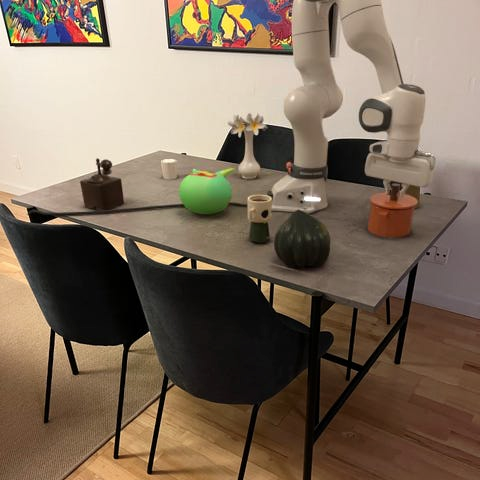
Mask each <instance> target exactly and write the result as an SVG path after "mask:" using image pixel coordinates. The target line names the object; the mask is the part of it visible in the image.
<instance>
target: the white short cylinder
mask: <svg viewBox="0 0 480 480" xmlns="http://www.w3.org/2000/svg"><path fill="white" fill-rule="evenodd" d="M160 165H161V172H162V176H163V179H164V180H169V181H170V180H175V179H177V178H178V160H177V159H176V158H165V159H161V160H160Z"/></svg>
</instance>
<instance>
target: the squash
mask: <svg viewBox="0 0 480 480" xmlns="http://www.w3.org/2000/svg"><path fill="white" fill-rule="evenodd" d="M273 247H274V250H275V251H274V252H275V254H276V256H277V258H278V259H279V261H281V262H282V263H284V265H286V266H287V267H288V268H298V267H299V268H304V267H305V266H313V267H319V266H322V265H324V264H325V263H326V262H327V260H328V259H329V256H330V252H331V235H330V232H329V230H328V228H327V226H326V225H325V224H324V223H323V222H321V221H320V220H319V219H318V218H316V217H314V216H312V214H311V215H310V213H306V212H304V211H301V210H299V209H298V210H297V211H295V212H291V215H289V216H288V217H287V219H286V220H285V221H284V222H283V223H282V224H281V225H280V226H279V227H278V229H277V231H276V233H275V235H274V240H273Z"/></svg>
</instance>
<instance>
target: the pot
mask: <svg viewBox="0 0 480 480" xmlns="http://www.w3.org/2000/svg"><path fill="white" fill-rule="evenodd" d="M414 208H415V207H412V208H408V209H389V208H383V207H379V206H376V205H374V204H372V203H371V202H370V207H369V215H368V223H367V231H369V232H370V233H371V234H373V235H375V236H380V237H383V238H402V237H405V236H408V235H409V234H410V233H411V229H412V225H413V224H412V223H413V220H414V219H413V217H414V213H415V209H416V208H415V209H414Z"/></svg>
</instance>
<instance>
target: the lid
mask: <svg viewBox="0 0 480 480" xmlns="http://www.w3.org/2000/svg"><path fill="white" fill-rule="evenodd" d="M390 187H391V193H390V195H386V194H385V192H378V193H374V194H373V195H371V196H370V197H369V201H370V204H371V203H372V204H374V205H376V206H379V207H383V208H389V209H408V208H412V207H415V206H416V205H417V203H418V201H417V199H416V198H414V197H412V196H409V195H406V194H405V193H404V197H403V198H398V197H397V192H398V191H400V189H401V183H391V186H390Z"/></svg>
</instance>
